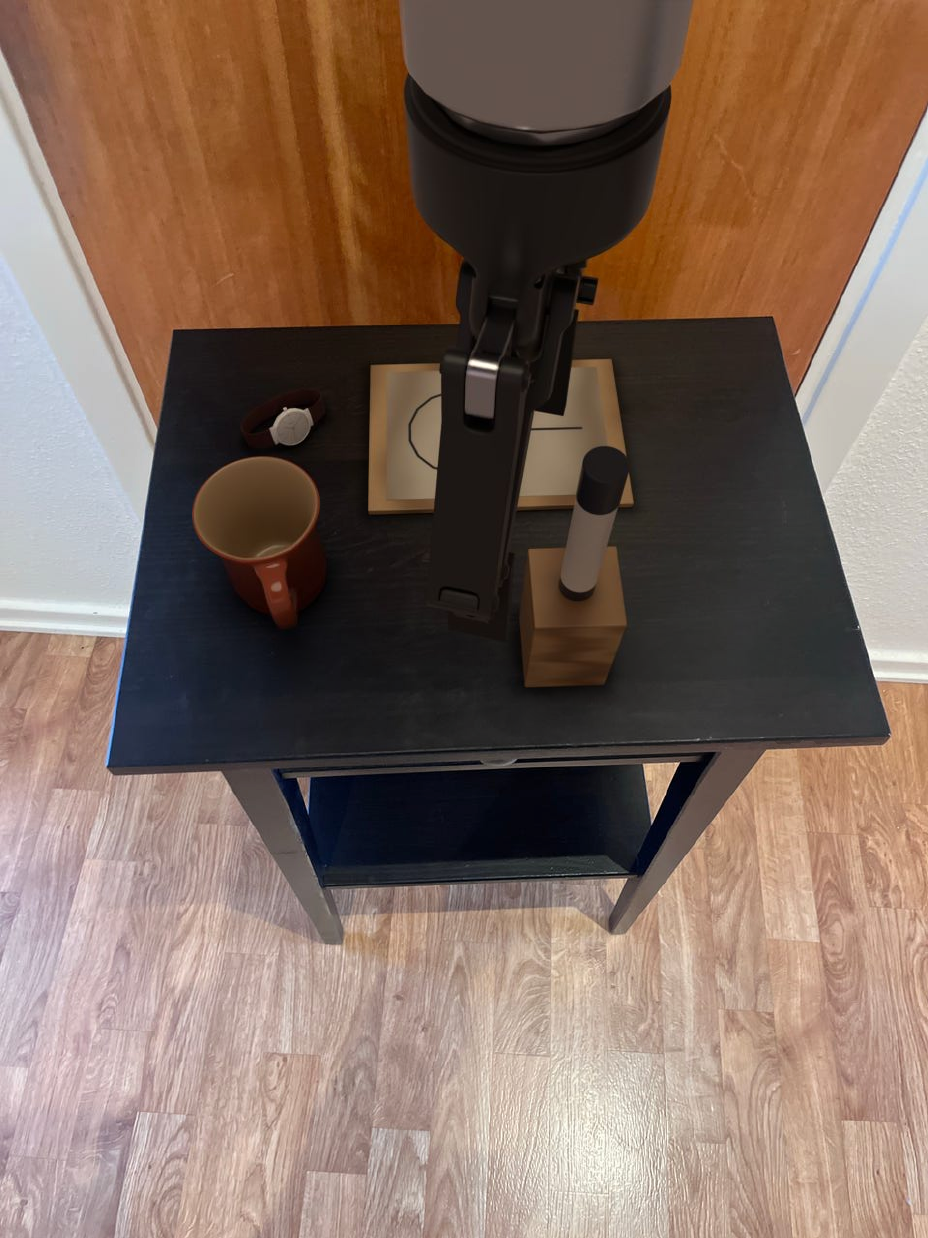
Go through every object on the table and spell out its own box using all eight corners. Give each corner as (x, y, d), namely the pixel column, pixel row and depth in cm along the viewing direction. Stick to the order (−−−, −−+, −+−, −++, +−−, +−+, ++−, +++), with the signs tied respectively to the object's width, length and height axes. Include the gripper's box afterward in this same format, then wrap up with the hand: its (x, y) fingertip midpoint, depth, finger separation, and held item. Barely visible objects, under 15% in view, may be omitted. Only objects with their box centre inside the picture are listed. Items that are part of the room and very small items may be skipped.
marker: (598, 574, 57) (633, 450, 46) (591, 606, 56) (625, 487, 45) (562, 565, 57) (587, 440, 46) (554, 597, 56) (578, 477, 45)
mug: (219, 548, 70) (183, 471, 61) (325, 523, 71) (305, 443, 62) (244, 679, 64) (209, 616, 55) (358, 649, 66) (342, 583, 56)
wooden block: (595, 614, 67) (616, 545, 58) (604, 685, 64) (627, 624, 55) (519, 616, 67) (528, 548, 58) (524, 687, 64) (534, 627, 55)
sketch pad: (610, 363, 79) (611, 357, 78) (632, 507, 72) (634, 502, 71) (371, 369, 79) (370, 363, 78) (368, 514, 71) (367, 510, 71)
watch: (260, 465, 74) (251, 438, 70) (234, 430, 75) (224, 402, 72) (337, 425, 76) (332, 396, 72) (310, 391, 77) (303, 362, 74)
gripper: (506, -156, 30) (495, 318, 48) (249, 376, 19) (364, 723, 37) (725, -134, 29) (627, 341, 48) (592, 440, 18) (533, 763, 36)
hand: (511, 510), depth 43 cm, fingers open, 13 cm apart
